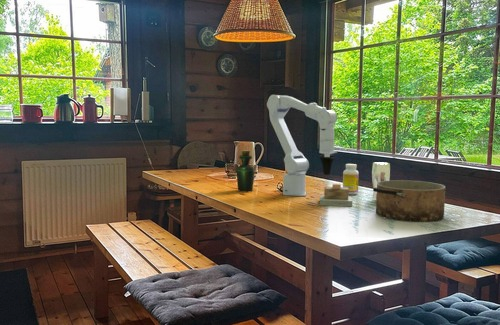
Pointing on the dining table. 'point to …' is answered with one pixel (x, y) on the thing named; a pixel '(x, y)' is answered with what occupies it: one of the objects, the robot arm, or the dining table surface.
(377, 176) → the beer glass
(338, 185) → the tan square block
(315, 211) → the dining table surface
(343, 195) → the pallet
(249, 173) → the potion bottle
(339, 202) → the dock
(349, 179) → the supplement bottle
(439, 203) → the cooking pot
